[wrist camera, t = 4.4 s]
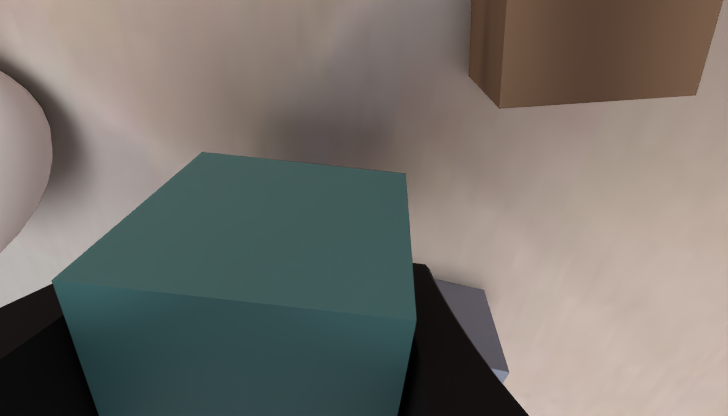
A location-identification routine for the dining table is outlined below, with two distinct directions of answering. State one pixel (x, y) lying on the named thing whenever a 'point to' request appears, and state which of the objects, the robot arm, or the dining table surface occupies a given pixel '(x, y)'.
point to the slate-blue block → (476, 323)
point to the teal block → (249, 294)
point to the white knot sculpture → (21, 157)
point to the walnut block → (588, 49)
